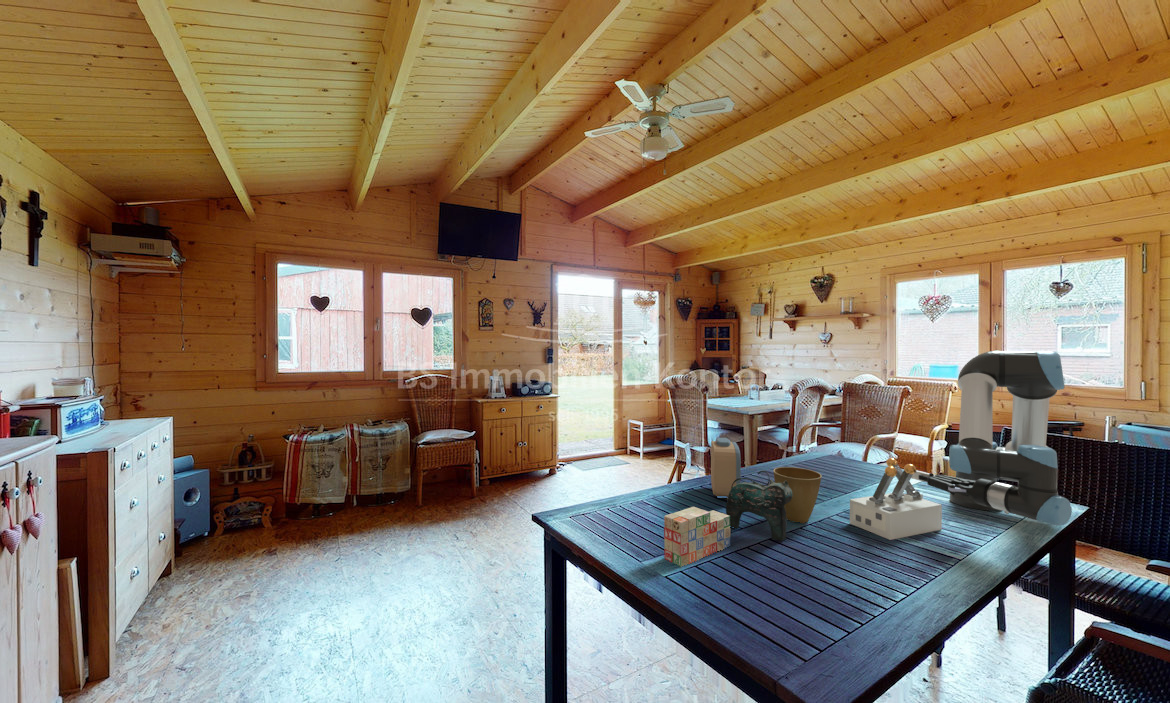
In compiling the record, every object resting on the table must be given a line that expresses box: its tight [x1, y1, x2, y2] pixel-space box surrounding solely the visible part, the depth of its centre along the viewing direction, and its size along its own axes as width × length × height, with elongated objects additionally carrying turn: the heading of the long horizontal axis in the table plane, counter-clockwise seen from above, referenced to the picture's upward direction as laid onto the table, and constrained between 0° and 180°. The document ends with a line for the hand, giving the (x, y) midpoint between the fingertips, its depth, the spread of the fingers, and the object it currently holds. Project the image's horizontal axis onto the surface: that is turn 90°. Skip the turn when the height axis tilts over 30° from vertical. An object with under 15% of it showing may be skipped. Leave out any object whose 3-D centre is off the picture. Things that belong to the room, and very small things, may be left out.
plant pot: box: [772, 466, 823, 524], centre depth 158 cm, size 15×15×16 cm
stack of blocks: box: [663, 506, 731, 568], centre depth 132 cm, size 21×6×12 cm, turn 126°
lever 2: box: [885, 457, 921, 498], centre depth 158 cm, size 3×3×14 cm
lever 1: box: [869, 465, 897, 504], centre depth 146 cm, size 3×3×14 cm
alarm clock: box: [710, 437, 742, 497], centre depth 185 cm, size 21×10×22 cm, turn 168°
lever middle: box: [888, 463, 917, 501], centre depth 149 cm, size 3×3×14 cm
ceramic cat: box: [725, 470, 792, 542], centre depth 146 cm, size 20×6×20 cm, turn 47°
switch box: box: [849, 492, 943, 541], centre depth 151 cm, size 24×14×10 cm, turn 110°
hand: (912, 473), depth 154 cm, fingers closed
